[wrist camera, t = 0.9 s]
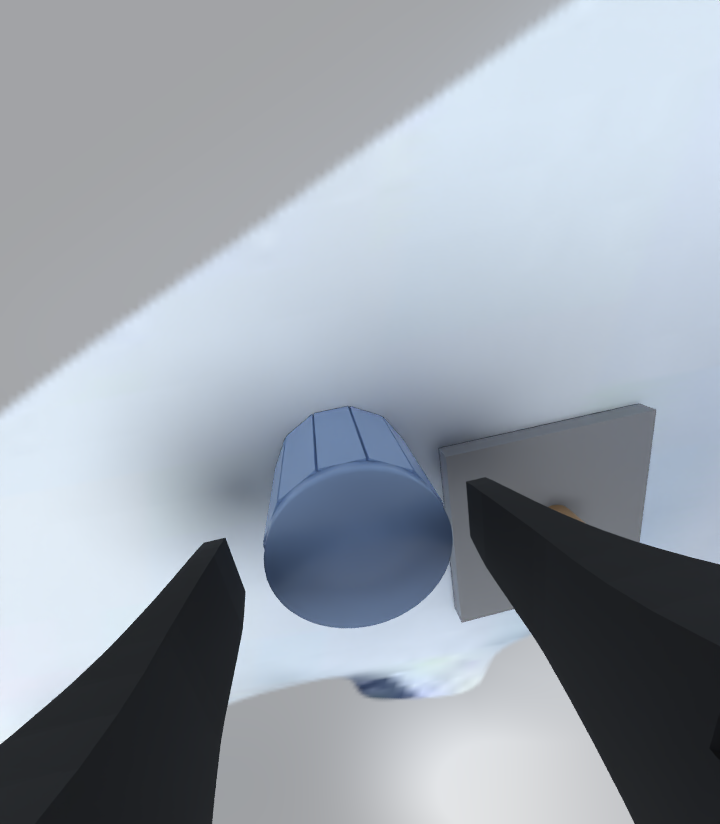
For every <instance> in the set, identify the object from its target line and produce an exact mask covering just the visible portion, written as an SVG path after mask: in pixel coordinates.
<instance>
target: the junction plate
mask: <svg viewBox="0 0 720 824" xmlns="http://www.w3.org/2000/svg"><path fill="white" fill-rule="evenodd" d="M655 416H656V409H653V408H650V407H647V406H644V405H642V404H636V405H631V406H627V407H622V408H618V409H613V410H609V411H604V412H600V413H595V414H591V415H586V416H582V417H577V418H573V419H568V420H564V421H559V422H555V423H550V424H546V425H541V426H537V427H532V428H528V429H523V430H519V431H514V432H510V433H505V434H501V435H496V436H492V437H487V438H483V439H478V440H474V441H469V442H465V443H460V444H456V445H451V446H447V447H442V448H439V455H440V465H441V475H442V485H443V494H444V504H445V512H446V514H447V516H448V518H449V521H450V524H451V529H452V536H453V545H452V553H451V557H450V563H451V572H452V582H453V592H454V602H455V609H456V611H457V614H458V616H459V618H460V620H461V622H466V621H470V620H474V619H477V618H481V617H485V616H489V615H493V614H497V613H500V612H504V611H508V610H512V609H514V608H513V606H512V605H511V603H510V602H509V600H508V599H507V597H506V596H505V594H504V593H503V592H502V590H501V589H500V587H499V586H498V584H497V583H496V581H495V580H494V578H493V577H492V575H491V574H490V572H489V571H488V569H487V568H486V566H485V564H484V562H483V561H482V559H481V557H480V555H479V553H478V551H477V549H476V547H475V545H474V543H473V541H472V539H471V537H470V528H469V515H468V502H467V488H466V481H471V480H475V479H479V478H484V477H486V478H489V479H491V480H493V481H495V482H497V483H499V484H501V485H503V486H505V487H507V488H509V489H511V490H513V491H515V492H518V493H520V494H522V495H524V496H526V497H528V498H530V499H532V500H534V501H536V502H538V503H540V504H542V505H544V506H547V507H549V508H551V509H553V510H555V511H558V512H560V513H562V514H564V515H567V516H569V517H571V518H574V519H576V520H579V521H581V522H583V523H586V524H588V525H591V526H593V527H596V528H599V529H601V530H604V531H607V532H610V533H613V534H615V535H618V536H621V537H624V538H627V539H630V540H633V541H636V542H639V541H640V533H641V525H642V517H643V510H644V502H645V494H646V486H647V478H648V471H649V463H650V455H651V447H652V439H653V432H654V424H655Z"/></svg>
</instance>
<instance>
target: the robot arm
mask: <svg viewBox="0 0 720 824" xmlns="http://www.w3.org/2000/svg"><path fill="white" fill-rule="evenodd" d="M466 488H467V502H468V515H469V528H470V537H471V539H472V541H473V543H474V545H475V547H476V549H477V551H478V553H479V555H480V557H481V559H482V561H483V562H484V564H485V566H486V568H487V569H488V571H489V572H490V574H491V575H492V577H493V578H494V580H495V581H496V583H497V584H498V586H499V587H500V589H501V590H502V592H503V593H504V594H505V596H506V597H507V599H508V600H509V602H510V603H511V605H512V606H513V608H514V609H515V610H516V612H517V613H518V615H519V616H520V618H521V619H522V621H523V622H524V624H525V625H526V626H527V628H528V629H529V631H530V632H531V634H532V635H533V637H534V638H535V640H536V641H537V643H538V644H539V646H540V648H541V649H542V651H543V652H544V654H545V656H546V657H547V659H548V661H549V663H550V664H551V666H552V668H553V670H554V672H555V673H556V675H557V677H558V678H559V680H560V682H561V684H562V686H563V687H564V689H565V691H566V693H567V695H568V697H569V698H570V700H571V702H572V704H573V706H574V708H575V709H576V711H577V713H578V715H579V717H580V719H581V720H582V722H583V724H584V726H585V728H586V730H587V732H588V733H589V735H590V737H591V739H592V741H593V743H594V744H595V747H596V749H597V750H598V753H599V754H600V756H601V758H602V760H603V762H604V764H605V766H606V767H607V770H608V772H609V773H610V775H611V778H612V780H613V781H614V783H615V785H616V787H617V789H618V791H619V793H620V795H621V797H622V799H623V801H624V803H625V805H626V807H627V809H628V811H629V813H630V815H631V817H632V819H633V821H634V823H635V824H720V565H719V564H715V563H711V562H707V561H703V560H699V559H695V558H691V557H687V556H684V555H680V554H677V553H673V552H670V551H666V550H662V549H659V548H655V547H652V546H649V545H645V544H642V543H639V542H636V541H633V540H630V539H627V538H624V537H621V536H618V535H615V534H613V533H610V532H607V531H604V530H601V529H599V528H596V527H593V526H591V525H588V524H586V523H583V522H581V521H579V520H576V519H574V518H571V517H569V516H567V515H564V514H562V513H560V512H558V511H555V510H553V509H551V508H549V507H547V506H544V505H542V504H540V503H538V502H536V501H534V500H532V499H530V498H528V497H526V496H524V495H522V494H520V493H518V492H515V491H513V490H511V489H509V488H507V487H505V486H503V485H501V484H499V483H497V482H495V481H493V480H491V479H489V478H486V477H484V478H479V479H475V480H471V481H466ZM244 607H245V589H244V587H243V584H242V581H241V579H240V576H239V573H238V571H237V568H236V565H235V562H234V560H233V557H232V554H231V552H230V549H229V546H228V544H227V541H226V538H223V539H218V540H214V541H210V542H206V543H203V544H202V545H201V546H200V548H199V549H198V550H197V551H196V552H195V553H194V554H193V555H192V557H191V558H190V559H189V560H188V561H187V562H186V564H185V565H184V566H183V567H182V568H181V569H180V571H179V572H178V573H177V574H176V575H175V576H174V578H173V579H172V580H171V581H170V582H169V583H168V585H167V586H166V587H165V588H164V589H163V590H162V591H161V593H160V594H159V595H158V596H157V597H156V598H155V599H154V601H153V602H152V603H151V604H150V605H149V606H148V607H147V608H146V609H145V610H144V612H143V613H142V614H141V615H140V616H139V617H138V618H137V619H136V620H135V621H134V622H133V623H132V624H131V625H130V627H129V628H128V629H127V630H126V631H125V632H124V633H123V634H122V635H121V636H120V637H119V638H118V639H117V640H116V641H115V642H114V643H113V644H112V645H111V646H110V647H109V648H108V649H107V650H106V651H105V652H104V653H103V654H102V655H101V656H100V657H99V658H98V659H97V660H96V661H95V662H94V663H93V664H92V665H91V666H90V667H89V668H88V669H87V670H86V671H85V672H83V673H82V674H81V675H80V676H79V677H78V678H77V679H76V680H75V681H74V682H73V683H72V684H71V685H69V686H68V687H67V688H66V689H65V690H64V691H63V692H62V693H61V694H59V695H58V696H57V697H56V698H55V699H54V700H52V701H51V702H50V703H49V704H48V705H47V706H45V707H44V708H43V709H42V710H41V711H40V712H38V713H37V714H36V715H35V716H34V717H33V718H31V719H30V720H29V721H28V722H27V723H26V724H24V725H23V726H22V727H21V728H20V729H19V730H17V731H16V732H15V733H14V734H13V735H11V736H10V737H9V738H8V739H7V740H5V741H4V742H3V743H2V744H0V824H212V818H213V807H214V797H215V788H216V779H217V769H218V762H219V752H220V744H221V738H222V732H223V726H224V720H225V715H226V710H227V705H228V700H229V695H230V690H231V685H232V681H233V676H234V671H235V666H236V661H237V656H238V651H239V645H240V640H241V635H242V630H243V619H244Z"/></svg>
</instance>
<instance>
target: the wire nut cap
mask: <svg viewBox="0 0 720 824" xmlns="http://www.w3.org/2000/svg"><path fill="white" fill-rule="evenodd" d="M263 542H264V543H263V546H264V549H265V552H264V568H265V573H266V577H267V580H268V583H269V585H270V587H271V589H272V591H273V592H274V594H275V595H276V597H277V598H278V599H279V600H280V602H281V603H282V604H283V605H284V606H285V607H287V608H288V609H289V610H290V611H291V612H293V613H295V614H296V615H298V616H299V617H301V618H303V619H306V620H308V621H310V622H313V623H316V624H319V625H323V626H328V627H335V628H359V627H366V626H371V625H376V624H379V623H383V622H386V621H388V620H391V619H393V618H396V617H398V616H400V615H402V614H404V613H405V612H407V611H409V610H410V609H412V608H413V607H415V606H416V605H418V604H419V603H420V602H421V601H422V600H424V599H425V598H426V597H427V596H428V595H429V594H430V593H431V592H432V591H433V589H434V588H435V587H436V585H437V584H438V583H439V581H440V580H441V578H442V576H443V575H444V573H445V571H446V569H447V566H448V564H449V561H450V557H451V553H452V545H453V536H452V529H451V524H450V521H449V518H448V516H447V514H446V512H445V510H444V508H443V502H442V500H441V499H440V497H439V495H438V494H437V492H436V491H435V489H434V488H433V486H432V484H431V483H430V481H429V480H428V478H427V476H426V475H425V473H424V472H423V470H422V469H421V467H420V465H419V464H418V462H417V461H416V459H415V458H414V456H413V454H412V453H411V451H410V450H409V448H408V447H407V445H406V443H405V442H404V440H403V439H402V438H401V437H400V435H399V434H398V433H397V432H396V431H395V430H394V429H393V428H392V426H391V425H390V424H389V423H388V422H387V421H386V420H385V419H384V417H383V418H382V416H380V415H377V414H373V413H370V412H367V411H364V410H360V409H357V408H354V407H351V406H350V408H348V406H347V407H342V408H337V409H332V410H327V411H323V412H318V413H314V416H313V415H311V416H309V417H308V418H307V419H306V420H305V421H303V422H302V423H301V424H300V425H299V426H298V427H296V428H295V429H294V430H293V431H292V432H291V433H289V434H288V435H287V436H286V438H285V440H284V443H283V446H282V449H281V452H280V455H279V458H278V461H277V464H276V467H275V473H274V479H273V485H272V492H271V498H270V504H269V510H268V516H267V522H266V528H265V534H264V540H263Z"/></svg>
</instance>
